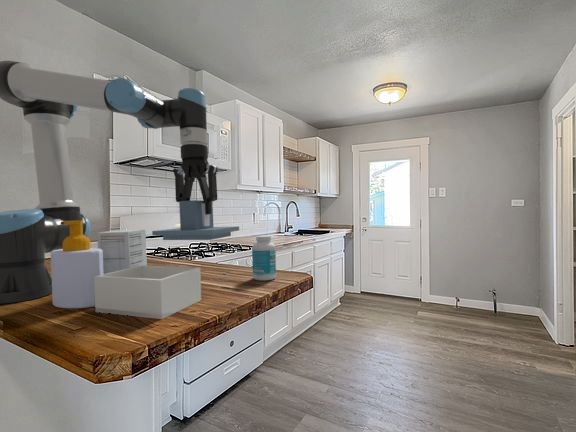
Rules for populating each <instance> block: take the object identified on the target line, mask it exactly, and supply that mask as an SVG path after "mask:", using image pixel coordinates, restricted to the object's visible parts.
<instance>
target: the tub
mask: <svg viewBox="0 0 576 432" xmlns="http://www.w3.org/2000/svg"><path fill="white" fill-rule="evenodd" d="M201 275H202V274H201V267H192V266H191V267H188V266H167V265H166V266H164V265H163V266H162V265H147V266H146V265H141V266H136V267H132V268H128V269H124V270H120V271H115V272H111V273H107V274H103V275H98V276H94V284H95V306H94V307H95V308H94V309H95V313H99V312H100V314H108V313H111V314H110V315H117V314H118V316H127V315H128V316H127V317H129V316H131V317H137V318H145V319H146V318H147V319H157V320H158V319H159V320H164V319H166V318H168V317H169V316H172V315H174V314H175V313H178V312H179V311H182V310H184V309H186V308H188V307H190V306H192V305H195V304H196V303H199V302H200V301H202V282H201V280H202V279H201Z"/></svg>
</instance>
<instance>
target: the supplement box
mask: <svg viewBox="0 0 576 432" xmlns="http://www.w3.org/2000/svg"><path fill="white" fill-rule="evenodd" d="M96 235H97V236H96V237H97V239H96V240H97V248H98V249H102V251H103V272H104V274H107V273H111V272H115V271H120V270H124V269H128V268H132V267H136V266H141V265H146V266H148V259H147V258H148V257H147V255H148V254H147V240H146V239H147V238H146V236H147V235H146V229H123V230H122V229H121V230H120V229H119V230H110V231H101V232H100V231H99V232H97V234H96Z"/></svg>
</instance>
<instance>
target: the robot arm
mask: <svg viewBox="0 0 576 432" xmlns="http://www.w3.org/2000/svg"><path fill="white" fill-rule="evenodd" d="M0 99H1V100H2V101H4V102H5V103H8V104H10V105H13V106H16V107H19V108H21V109H22V112H23V113H22V114H23V120H24V121H26V122H27V123H28V124H30V128H31V137H32V146H33V153H34V154H33V155H34V165H35V172H36V182H37V183H36V184H37V190H38V200H39V203H38V204H37V205H36V206H35V207H34V208H26V209H17V210H16V209H15V210H6V211H0V304H1V305H2V304H3V305H4V304H11V303H20V302H24V301H30V300H34V299H39V298H42V297H46V296H49V295H51V294H52V276H51V275H50V272H49V270H48V269H47V267H46V257H45V256H46V254H48V253H50V254H51V252H52V251H53V250H58V249H63V241H64V239H65V238H66V237H68V236H70V225H61V221H82V225H83V235H84V236H86V237H88V238H89V237H90V234H91V230H92V229H91V223H90V219H89V218H88V217H86V215H85V214H83V213H81V206H80V205H79V204H78V203H76V202H75V201H74V194H73V185H72V177H71V175H72V174H71V168H70V167H71V166H70V157H69V149H68V139H67V130H66V128H67V126H68V125H69V124H71V119H72V118H73V117H74V115H75V112H77V109H78V107H81V108H83V107H84V108H87V109H94V110H101V111H106V112H113V113H116V114H117V113H118V114H121V115H122V114H123V115H128V116H131V117H133V118H136V119H137V121H138V123H139V124H140V125H141V127H142V128H145V129H155V130H157V129H163V128H173V127H175V128H176V127H179V134H180V135H179V139H180V140H179V142H180V144H181V146H180V159H181V165H180V166H179V167H177V168H174V167H173V169H172V171H173V174H174V183H175V186H174V187H175V189H174V190H175V201H176V202H177V203H179V201H191V197H192V190H193V186H194V182H195V180H197V181H198V184H199V189H200V194H201V196H202V200H201V201H202V202H203V203H201V206H202V226H210V217H209V214H211V213H212V211H211V203H212V202H215V201H217V200H218V186H217V184H218V183H217V181H218V180H217V174H218V173H217V172H218V166H217V165H213V164H209V161H208V158H209V151H208V150H209V149H208V148H209V147H208V146H207V145H208V144H209V143H208V131H207V130H208V129H207V105H206V104H207V103H206V96H205V93H204V92H202V90H200V89H197V88H192V87H188V88H187V87H186V88H182V89H180V90H178V94H177V98H174V99H162V98H159V97H158V96H156V95H154V94H153V93H151V92H149V91H148V90H146V89H145V88H143V87H141V86H140V85H139V84H137V83H136V82H134V81H133V80H129V79H127V78H125V77H117V78H114V79H112V80H108V79H101V78H95V77H88V76H83V75H76V74H69V73H64V72H57V71H51V70H50V71H49V70H44V69H38V68H36V67H34V66H33V65H31V64H29V63H27V62H26V63H25V62H20V61H14V60H1V61H0ZM206 173H207V174H206Z"/></svg>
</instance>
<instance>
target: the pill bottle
mask: <svg viewBox="0 0 576 432" xmlns="http://www.w3.org/2000/svg"><path fill="white" fill-rule="evenodd" d="M255 239H256V242H255V243H254V244H252V246H251V254H252V255H251V257H252V260H251V262H252V278H253V279H254V280H256V281H272V280H274V279H276V277H277V258H276V257H277V256H276V255H277V254H276V253H277V252H276V251H277V250H276V245H275V244H274V243H273V242H271V240H272V236H271V235H257V236H256V237H255Z"/></svg>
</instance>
